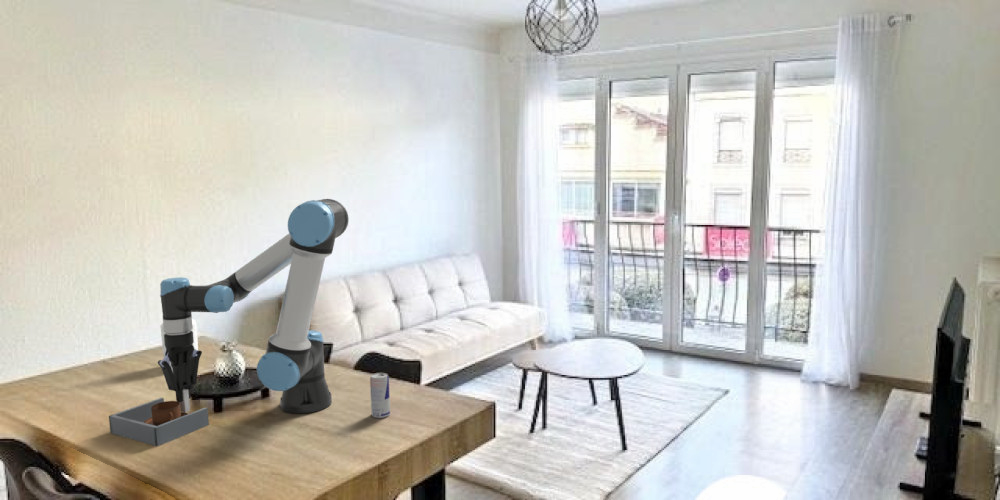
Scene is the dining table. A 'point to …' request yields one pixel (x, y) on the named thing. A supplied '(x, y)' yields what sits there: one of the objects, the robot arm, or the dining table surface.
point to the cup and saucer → (165, 413)
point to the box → (134, 428)
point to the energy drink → (380, 395)
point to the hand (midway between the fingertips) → (184, 411)
